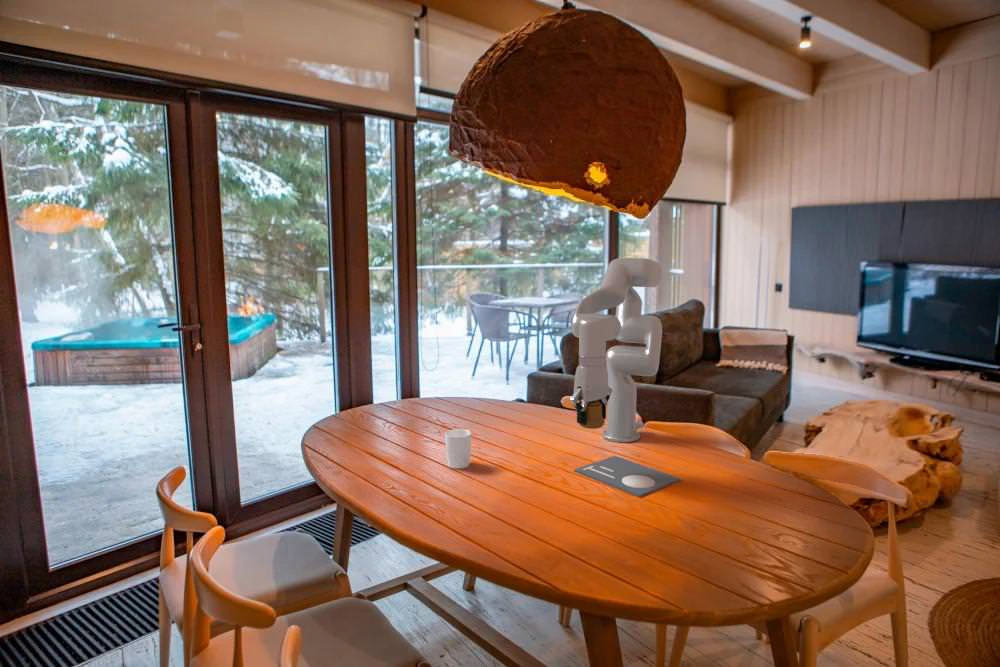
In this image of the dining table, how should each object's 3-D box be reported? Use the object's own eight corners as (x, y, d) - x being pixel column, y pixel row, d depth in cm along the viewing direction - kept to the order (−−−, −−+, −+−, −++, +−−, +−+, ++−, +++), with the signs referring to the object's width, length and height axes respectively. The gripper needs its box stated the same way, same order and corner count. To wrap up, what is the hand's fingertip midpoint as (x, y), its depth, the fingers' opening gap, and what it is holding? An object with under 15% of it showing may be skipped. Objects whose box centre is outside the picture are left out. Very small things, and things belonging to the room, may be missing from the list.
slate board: (614, 457, 194) (614, 455, 194) (680, 480, 176) (680, 478, 176) (573, 471, 183) (573, 469, 183) (639, 497, 165) (639, 494, 165)
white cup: (465, 471, 184) (465, 438, 183) (441, 468, 187) (440, 435, 185) (475, 461, 192) (474, 430, 190) (451, 459, 194) (451, 428, 192)
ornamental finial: (584, 420, 186) (608, 423, 183) (574, 427, 180) (598, 430, 176) (584, 394, 185) (608, 397, 181) (574, 400, 179) (599, 403, 175)
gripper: (603, 355, 187) (602, 412, 189) (561, 363, 176) (560, 423, 179) (622, 359, 181) (621, 418, 184) (580, 367, 170) (579, 430, 173)
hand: (591, 420), depth 181 cm, fingers closed on ornamental finial, 7 cm apart
